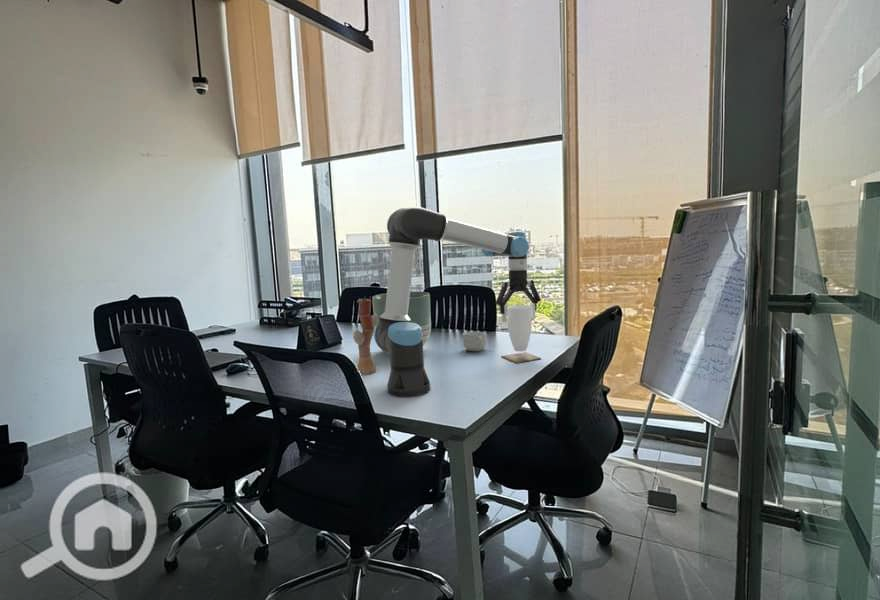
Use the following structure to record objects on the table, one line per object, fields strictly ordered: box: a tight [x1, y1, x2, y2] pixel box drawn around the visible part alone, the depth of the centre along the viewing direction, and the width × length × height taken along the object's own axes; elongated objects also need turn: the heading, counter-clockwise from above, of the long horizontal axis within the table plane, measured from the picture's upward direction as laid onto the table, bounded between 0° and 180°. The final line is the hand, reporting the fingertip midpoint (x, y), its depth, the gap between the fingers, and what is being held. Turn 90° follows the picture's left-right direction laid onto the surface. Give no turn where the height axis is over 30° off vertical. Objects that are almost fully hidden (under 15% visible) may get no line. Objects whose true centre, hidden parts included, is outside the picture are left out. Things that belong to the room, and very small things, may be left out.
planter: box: [371, 291, 432, 347], centre depth 225 cm, size 27×27×27 cm
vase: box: [352, 298, 378, 376], centre depth 194 cm, size 10×7×30 cm
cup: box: [507, 304, 533, 352], centre depth 202 cm, size 10×10×22 cm
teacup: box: [462, 331, 487, 352], centre depth 221 cm, size 14×11×8 cm
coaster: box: [501, 351, 542, 364], centre depth 204 cm, size 12×12×1 cm
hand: (518, 320), depth 202 cm, fingers open, 13 cm apart
